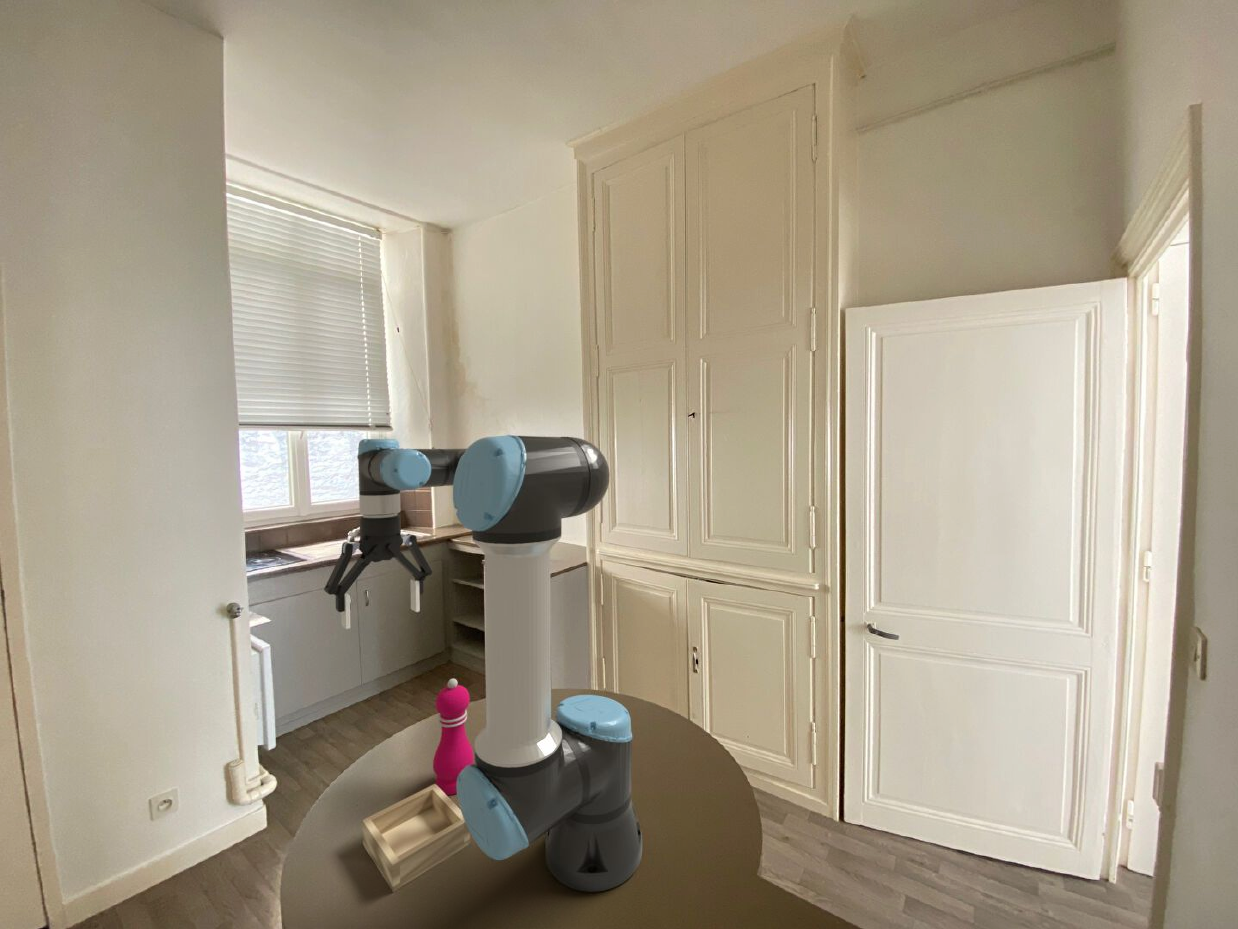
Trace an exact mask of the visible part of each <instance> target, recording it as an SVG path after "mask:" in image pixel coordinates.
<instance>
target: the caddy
mask: <svg viewBox="0 0 1238 929" xmlns="http://www.w3.org/2000/svg"><path fill="white" fill-rule="evenodd" d="M362 845H363V847H364V849H365V850H366V852H367V853H368V855H369V857H370V858H371V861H372V862H373V863H374V865H375V866H376V867H377V869H378V871H379V873H381V875H382V877H383V879H384V880H385V882H386V884H387V885H388V887H389V888H390V890H391V891H392V893H394V892H396V891H398V890H399V889H401V888H402V887H405V885H407V884H409V883H410V882H413V880H415V879H417V878H418V877H420V876H421V875H423V874H424V873H426V872H428V871H429V870H431V869H433V868H434V867H437V865H439V864H440V863H442V862H444V861H446V860H447V859H449V858H450V857H452V856H453V855H455V854H456V853H458V852H459V851H462V850H463V849H464V848H466V847H467V846H469V845H471V833H470V831H469V829H468V827H467V825H466V823H465V820H464V818H463V815H462V812H461V809H460V807H458V806H457V804H456V803H454V802H453V800H452V799H451V798H450V797H449V796H448V795H446V794H445V793H444V792H443V791H442V790H441V789H440V788H439V787H438V786H437V785H436V783H433V784H431V785H429V786H428V787H426V788H424V789H422V790H420V791H418V792H416V793H414V794H411V795H409V796H408V797H406V798H404V799H402V800H400V801H398V802H396V803H393V804H392V805H389V806H388V807H387V808H384V809H382V810H380V811H378V812H376V813H373V815H370V816H368V817H366V818H364V819H363V820H362Z"/></svg>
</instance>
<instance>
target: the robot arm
mask: <svg viewBox="0 0 1238 929" xmlns="http://www.w3.org/2000/svg"><path fill="white" fill-rule="evenodd" d="M357 449H358V450H357V451H358V453H357V456H356V457H357V461H358V462H357V463H358V467H357V468H358V494H359V495H358V497H359V498H358V499H359V508H358V509H359V514H360V515H361V516H360V518H359V541H358V542H348V541H344V542H343V543H342V545H341V554H340V556H339V557H338V560H337V561H336V564H335V566H334V567H333V570H332V572H331V574H330V575H329V578H328V580H327V582H326V584H325V586H324V589H323V590H324V592H325V593H327V594H328V595H331V596H332V595H334V596H335V610H336V611H337V612H338V613H341V614H340V615H341V616H340V617H341V627H343V628H344V629H345V630H348V629H351V597H350V596H351V595H350V594H349V593H347V592H348V591H349V589H350V588H351V587H352V586H353V584H354V583H355V582H356V580H357V579H358V578H359V577H360V576H361V574H362V572H363V571H364V570H365V569H366V568H367V567H368V566H369V565H370V564H371V563H372V562H373V563H379V562H382V561H391V560H392V559H395V560H396V561H397V562H398V563H399V564H400V565H401V566H402V567H403V568H404V569H405V570H406V571H407V572H408V573H409V574H410V575H411V576H412V577H413V578H411V579H410V580H409V582H410V610H412V611H414V612H415V613H419V612H420V610H421V609H420V608H421V605H420V604H421V603H420V602H421V601H420V595H423V594H424V581H425V580H426V579H427V577H428V576H431V575H433V570H432V568H431V567H430V564H429V563H428V561H427V560H426V558H425V556H424V554H423V553H422V551H421V549H420V546H419V545H418V538H417V535H415V534H411V533H408V534H406V535H404V536H402V535H401V532H402V530H401V529H402V527H401V526H402V525H401V522H402V520H401V519H402V518H401V517H402V516H401V515H400V514H399V513H400V512H401V511H402V510H401V509H402V507H401V491H415V490H418V489H421V488H436V487H447V486H451V487H452V500H453V501H452V502H453V508H454V509H455V510H456V513H455V514H456V517H457V520H458V521H459V522H460V524H461V525H462V527H464V528H466V529H467V530H470V531H471V533H472V534H471V536H472V542H473V543H474V544H475V545H476V546H478V547H479V548H480V549H481V550H482V552H483V553H484V629H485V630H484V633H485V634H484V636H485V639H484V641H485V642H484V643H485V648H484V649H485V650H484V651H485V720H486V721H485V722H486V723H485V726H484V727H483V728H482V729H481V730H480V731H479V733H478V734H477V735H476V738H475V740H474V761H473V764H472V765H467V766H466V767H465V768H464V769H463V770H462V771H461V773H460V774H459V775H458V778H457V794H456V795H457V801H458V805H459V809H460V810H461V812H462V815H463V818H464V820H465V823H466V825H467V827H468V829H469V831H470V836H471V837H472V838H473V840H474V841H475V843H476V845H477V846H478V847H479V849H480V850H481V851H482V852H483V853H484V854H485V856H488V857H489V858H491V859H493V860H495V861H502V860H506V859H508V858H510V857H512V856H514V855H516V854H517V853H519V852H521V851H522V850H526V849H527V848H528V847H529V845H531V844H533V843H534V842H536V841H537V840H538V839H540V838H541V837H542V836H544V835H545V834H546V835H545V843H544V844H545V863H546V865H547V867H548V869H549V871H550V873H551V874H552V876H553V877H554V878H555V879H556V880H557V881H558V882H559V883H561V884H562V885H564V886H566V887H567V888H569V889H573V890H576V891H581V892H586V893H587V892H588V893H593V892H595V893H597V892H603V891H604V892H605V891H608V890H611V889H615V888H616V887H618V886H620V885H621V884H623V883H624V882H626V881H627V880H629V879H630V878H631V876H633V875H634V873H635V872H636V871H637V869H638V868H639V865H640V864H641V860H642V856H643V834H642V828H641V826H640V823H639V820H638V817H637V813H636V811H635V807H634V805H633V801H632V763H633V762H632V759H633V758H632V752H633V751H632V750H633V749H632V748H633V747H632V746H633V745H632V744H633V733H632V722H631V716H630V713H629V711H628V709H627V708H626V707H625V706H624V705H623V704H621V703H620V702H618V701H617V700H614V699H612V698H609V697H605V696H604V695H603V696H601V695H596V694H578V695H573V696H570V697H567V698H564V699H563V700H561V701H560V702H559V704H557V708H556V711H555V712H554V717H555V719H556V720H554V719H552V686H551V685H552V682H551V681H552V672H551V670H552V667H551V666H552V662H551V661H552V659H551V658H552V657H551V655H552V653H551V652H552V650H551V649H552V648H551V647H552V646H551V644H552V643H551V640H552V639H551V637H552V636H551V632H552V631H551V630H552V629H551V627H552V626H551V625H552V624H551V623H552V622H551V619H552V618H551V615H552V614H551V612H552V611H551V609H552V608H551V551H552V549H553V547H554V546H555V545H556V544H557V543H558V542H559V541H560V539H562V519H566V518H573V517H578V516H580V515H584V514H585V513H588V512H590V511H591V510H593V509H594V508H595V507H597V505H598V504H600V502H601V501H602V500H603V499H604V497H605V495H606V493H607V491H608V489H609V485H610V475H611V474H610V468H609V464H608V461H607V460H606V457H605V455H604V454H603V453H602V451H601V450H600V449H599V448H598V447H597V446H596V445H594V444H593V443H591V442H589V441H588V440H586V439H583V438H579V437H575V436H574V437H573V436H541V435H540V436H539V435H538V436H532V435H531V436H530V435H514V434H513V435H511V434H507V435H496V436H485V437H482V438H479V439H476V440H475V441H473V442H472V443H471V444H470V445H469V446H468V447H467V448H403V447H402V448H400V442H399V441H398V440H397V439H393V438H392V439H391V438H363V439H361V440H359V442H358V448H357ZM403 544H404V545H405V546H407V548H408V549H409V552H410V553H411V555H412V557H413V559H414V560H415V563H416V564H417V565H418V567H419V569H420V570H419V569H418V568H417V567H416V566H415V564H413V563H412V562H411V561H410V560H409V559H408V558H407V557H406V556H405V555H404V554H403V553H402V552H401V551H400V549H401V547H402V546H403ZM357 550H359V551H360V553H361V554H360V555H359V556H358V558H357V559H356V562H354V564H353V566H352V567H351V568H350V570H348V571H347V573H346V575H345V576H344V574H345V572H346V570H347V568H348V566H349V564H350V562H351V559H352V556H353V555H354V554H355V553H356V552H357Z"/></svg>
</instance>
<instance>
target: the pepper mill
mask: <svg viewBox="0 0 1238 929" xmlns="http://www.w3.org/2000/svg"><path fill="white" fill-rule="evenodd" d="M458 683H459V682H458V680H457V679H456V678H450V679H449V680H448V682H447V686H446V687H444V688H442V689H441V690H440V691H439V693H438V695H437V697H436V700H435V709H436V711H437V713H438V724H439V726H440V727H441V733H440V734H441V736H440V740H439V743H438V746H437V748H436V750H435V753H434V757H433V760H432V762H433V763H432V769H433V772H434V773H435V775H436V778H435V784H436V785H437V786H438V787H439V788H440V789H441V790H442V791H443V792H444V793H445V794H446V795H447V796H448V795H449V796H451V795H457V778H458V775H459V774H460V773H461V771H462V770H463V769H464V768H465V767H466V766H467V765H472V764H474V762H475V755H474V750H473V748H472V745H471V742H470V741H469V739H468V736H467V734H466V729H465V728H466V726H465V725H466V724H465V722H466V721H467V719H468V711H467V710H468V709H467V708H468V707H469V705H470V701H471V699H470V693H469V691H468V689H467V688H466V687H464V686H463V685H459V684H458Z"/></svg>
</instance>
